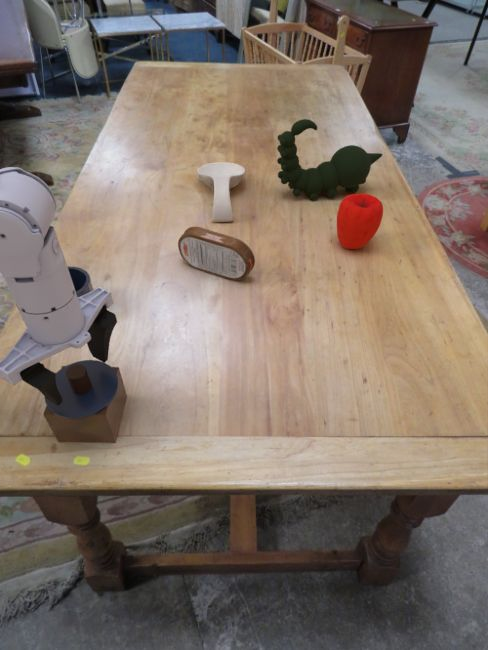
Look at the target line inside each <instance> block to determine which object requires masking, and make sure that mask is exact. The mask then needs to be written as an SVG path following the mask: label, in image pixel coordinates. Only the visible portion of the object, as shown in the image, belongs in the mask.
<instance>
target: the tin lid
mask: <svg viewBox="0 0 488 650" xmlns="http://www.w3.org/2000/svg"><path fill="white" fill-rule="evenodd" d="M64 366H65V367H64V368H62V369H61V368H60V369H59V370H58V371H57V372H55V373H56V385H57V389H58V391H59V393H60V395H61V397H62V400H63V402H62V403H61V404H60V405H58V406H57V405H56V404H54V403H52V402H51V401H49V400H48V399H46V397H45V396H44V395H43V396H44V403H45V406H47V407H48V408H49V410H50V411H51V412H52V413H54V414H55V415H57V416H59V417H61V418H65V419H72V420H73V419H83V418H87V417H90V416H93V415H95V414H97V413H99V412H101V411H102V410H103V409H105V408H106V407H107V406H108V405H109V404H110V403H111V402H112V401H113V399H114V398H115V396H116V394H117V391H118V387H119V380H118V377H117V374H116V372H115V370H114V369H113V368H112V367H113V366H111V365H110V364H107V363H106V362H105V363H104V362H102V361H100V360H96V359H84V360H79V361H75V362H73V363H70V364H67V365H64Z"/></svg>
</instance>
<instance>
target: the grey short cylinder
mask: <svg viewBox="0 0 488 650" xmlns="http://www.w3.org/2000/svg"><path fill="white" fill-rule="evenodd" d="M67 267H68V270H69V273H70V276H71V279H72V282H73V285H74V288H75V291H76V294H77V297H80V296H83V295H85V294H87V293H89V292H91V291H93V290H94V289H95V288H94V286H93V283H92V279H91V276H90V274H89V273H88V271H87V270H85V269H83V268H82V267H77V266H68V265H67Z"/></svg>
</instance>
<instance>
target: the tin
mask: <svg viewBox="0 0 488 650" xmlns="http://www.w3.org/2000/svg"><path fill="white" fill-rule="evenodd" d="M177 247H178V252H179V254H180V256H181V258H182V259H183V260H184V262H186V264H188V265H189V266H190V267H192V268H194V269H196V270H199V271H203V272H206V273H209V274H211V275H214V276H218V277H221V278H223V279H227V280H231V281H242V280H243V279H245V278H246V277H247V276H248V275H249V274H250V272H251V271H252V270H253V269H254V268H255V265H256V258H255V255H254V253H253V251H252V249H251V248H250V246H248V244H247V243H245V242H244V241H243V240H241V239H239V238H237V237H234V236H231V235H227V234H225V233H220V232H218V231H214V230H210V229H207V228H204V227H201V226H191V227H188V228H186V229H185V230H184V232H183V234H181V236H180V237H179V239H178V242H177Z"/></svg>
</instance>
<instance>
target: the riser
mask: <svg viewBox="0 0 488 650" xmlns="http://www.w3.org/2000/svg"><path fill="white" fill-rule="evenodd" d="M65 366H66V365H62V366H61V368H60V370H61V369H62V368H64V367H65ZM111 367H112V368H113V369H114V370H115V372H116V374H117V377H118V380H119V387H118V391H117V394H116V396H115V398H114V399H113V401H112V402H111V403H110V404H109V405H108V406H107V407H106V408H105V409H103V410H102V411H101V412H99V413H97V414H95V415H93V416H90V417H87V418H83V419H73V420H72V419H65V418H61V417H59V416H57V415H55V414H54V413H52V412H51V411H50V410H49V408H48V407H47V405H45V408H44V410H43V413H42V415H43V416H44V419H45V420H46V422H47V424H48V426H49V428H50V429H51V432H52V433H53V435H54V438H55V439H56V441H57V442H58V443H59V442H61V443H62V442H63V443H105V444H106V443H107V444H108V443H109V444H110V443H111V444H113V443H114V444H115V443H117V438H118V434H119V430H120V426H121V421H122V417H123V414H124V409H125V405H126V401H127V397H128V395H127V391H126V388H125V385H124V381H123V378H122V377H123V376H122V373H121V370H120V367H119V366H111Z"/></svg>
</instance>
